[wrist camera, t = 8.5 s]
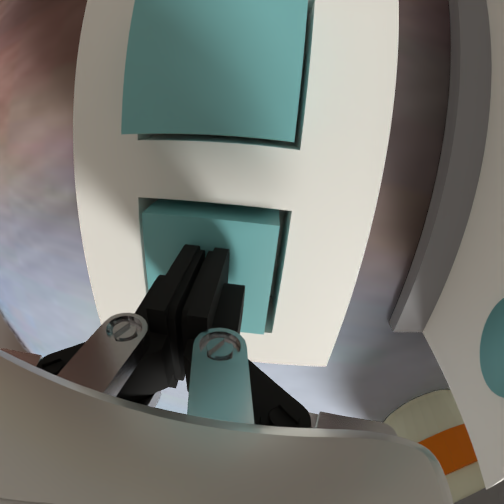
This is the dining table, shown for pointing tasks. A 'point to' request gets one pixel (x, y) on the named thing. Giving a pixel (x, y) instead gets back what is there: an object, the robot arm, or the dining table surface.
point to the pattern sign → (467, 236)
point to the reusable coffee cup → (446, 444)
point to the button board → (247, 172)
